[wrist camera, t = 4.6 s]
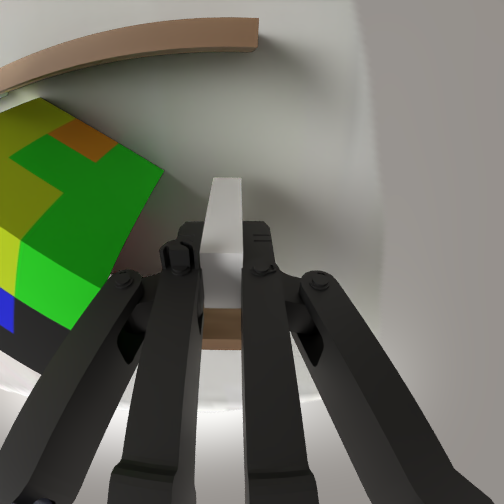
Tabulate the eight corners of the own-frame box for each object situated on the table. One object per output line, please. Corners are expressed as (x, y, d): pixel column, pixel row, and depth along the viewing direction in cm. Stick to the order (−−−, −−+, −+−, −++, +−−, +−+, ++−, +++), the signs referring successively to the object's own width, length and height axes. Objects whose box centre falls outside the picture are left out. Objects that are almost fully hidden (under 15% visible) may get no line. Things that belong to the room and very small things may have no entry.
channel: (16, 72, 11) (-36, 87, 7) (252, 31, 12) (258, 18, 8) (70, 290, 22) (49, 334, 18) (242, 296, 23) (243, 350, 19)
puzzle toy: (8, 213, 17) (-63, 301, 9) (39, 97, 13) (-82, 159, 5) (106, 273, 21) (62, 385, 13) (164, 170, 17) (103, 289, 9)
